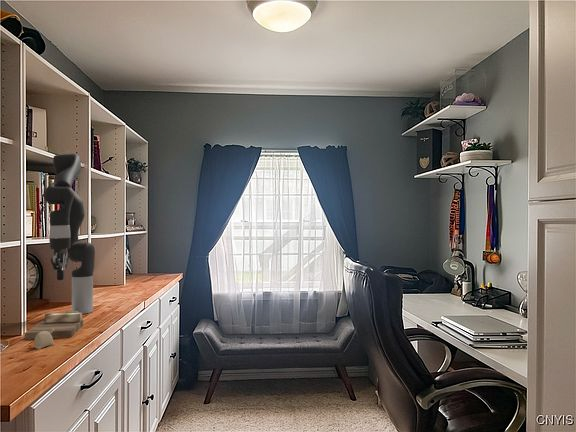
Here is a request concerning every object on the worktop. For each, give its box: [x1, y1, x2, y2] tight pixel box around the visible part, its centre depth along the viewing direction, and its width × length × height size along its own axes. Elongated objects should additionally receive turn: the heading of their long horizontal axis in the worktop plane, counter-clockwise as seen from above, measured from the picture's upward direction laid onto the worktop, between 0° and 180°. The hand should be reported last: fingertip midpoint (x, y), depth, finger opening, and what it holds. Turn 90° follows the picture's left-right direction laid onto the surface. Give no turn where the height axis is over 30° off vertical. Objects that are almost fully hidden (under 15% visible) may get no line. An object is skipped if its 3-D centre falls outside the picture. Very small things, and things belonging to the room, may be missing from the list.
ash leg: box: [44, 312, 83, 323], centre depth 184 cm, size 14×3×3 cm, turn 99°
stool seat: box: [24, 310, 84, 341], centre depth 178 cm, size 20×16×6 cm
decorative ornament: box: [33, 328, 56, 350], centre depth 159 cm, size 4×8×5 cm, turn 157°
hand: (60, 280), depth 180 cm, fingers closed
